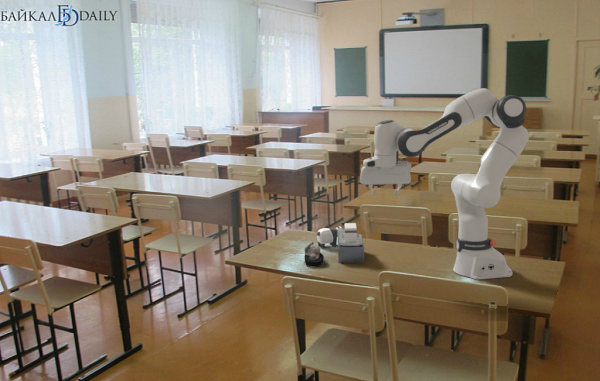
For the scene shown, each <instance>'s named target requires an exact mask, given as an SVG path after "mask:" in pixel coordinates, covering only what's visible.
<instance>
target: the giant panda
mask: <svg viewBox="0 0 600 381" xmlns="http://www.w3.org/2000/svg"><path fill="white" fill-rule="evenodd" d="M340 234H345V229H344V228H343V227H342V226H340V225H338V224H337V225H336V228H335V227H332V228H330V227H329V228H327V227H325V228H324V227H323V228H320V229H318V231H317V233H316V239H317V244H318V245H317V246H318V247H320V249H326V248H327V247H326V244H329V245H330V246H332V247H333V248H336V246H337V247H338V244H337V243H338V237H339V235H340Z"/></svg>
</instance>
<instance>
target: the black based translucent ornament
mask: <svg viewBox="0 0 600 381" xmlns="http://www.w3.org/2000/svg"><path fill="white" fill-rule="evenodd" d="M303 256H304V264H305V265H306V266H308V267H311V268H316V267H317V268H318V267H320V266H322V265H323V264H324V262H325V258H324V254H323V253H321V247H319V246H318V245H315V244H314V241H312V242H310V244H308V245H307V246H305V247H304V255H303Z"/></svg>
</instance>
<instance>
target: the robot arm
mask: <svg viewBox="0 0 600 381" xmlns="http://www.w3.org/2000/svg"><path fill="white" fill-rule="evenodd" d="M526 104H527V103H526V102H525V100H524V99H523V98H522V97H520V96H518V95H514V94H509V95H506V96H503V97H501V98H497V97H496V96H495V95H494V93H493V92H492V91H491V90H490V89H488V88H486V87H485V88H484V87H482V88H477V89H476V90H473V91H472V90H471V91H470V92H467V93H466V94H463V95H461V96H459V97H457V98H456V99H454V100H452V101H451V102H449V103H448V104H447V105H446V106H445V108H444V111H443V114H442V116H441V117H440V118H439V119H436V120H435V121H433V122H431V123H430V124H428V125H426V126H425V127H423V128H420V129H417V130H415V129H413V128H411V127H406V126H404V125H402V124H400V123H398V122H396V121H395V120H392V119H388V120H382V121H380V122H378V123H377V124H375V128H374V131H373V132H374V133H373V135H374V136H373V144H374V153H373V156H372V157H369V158H366V159H364V160H363V163H362V164H363V166H362V167H361V169H360V175H359V176H360V178H359V179H360V180H359V182H360V184H361V185H363V186H365V185H366V186H367V185H368V187H369V189H370V190H371V196H376V195H377V194H376V190H375V189H373V186H374V185H397V189H395V190H394V195H396V196H399V195H400V190H401V189H402V188H403V185H409V184H410V183H411V182H412V178H411V171H412V163H411V162H410V161H408V160H397V153H398V152H400V153H401V154H402V155H403V156H405V157H407V158H416V157H418V156H420V155H421V154H423V152H424V151H425V150H426V148H427V147H428V146H429V145H430V144H432V143H433V142H436V141H437V140H439V139H440V138H442V137H444V136H445V135H447V134H449V133H451V132H453V131H455V130H457V129H460V128H463V127H465V126H468V125H469V124H473V122H475V121H477V120H479V119H481V118H485V119H486V120H488V122H489V123H490V124H491V125H492V126H493V127H495V128H498V129H499V132H498V134H497V136H496V138H494V140H493V141H492V143H491V144H490V145H489V146H488V148H487V149H486V151H485V152H484V153H483V154H482V155H481V157H480V167H479V169H478V171H477V173H476V174H473V173H460V174H457V175H456V176H455V177H453V179H452V180H451V182H450V183H451V184H450V188H451V191H452V193H453V195H454V199H455V204H456V205H455V206H456V209H457V214H458V215H457V216H458V232H457V233H458V236H457V237H456V251H457V252H456V259H455V261H454V265H453V270H452V271H453V272H454V273H456V274H458V275H460V276H463V277H468V278H471V279H473V280H487V279H488V280H489V279H498V278H499V279H500V278H501V279H502V278H511V277H512V276H513V269H511V268H510V266H508V265H507V261H506V258H505V256H504V255H503V253H501V252H499V251H498V250H497V249H495V248H494V247H496V245H497V243H496V242H495V241H494V240H493V239H491V238H490V237H489V236H488V233H489V231H488V230H489V229H488V228H489V219H488V216H487V213H486V211H485V209H491V208H493V207H495V206H496V205H497V204H498V203H499V201H500V199H501V186H502V183H503V180H504V179H505V176H506V174H507V173H508V171H509V170H510V169H511V167H512V166H513V165H514V163H515V162H516V161H517V160H518V158H519V156H520V155H521V154H522V153H523V150H524V149H525V147H526V146H527V143H528V141H529V139H530V134H529V131H528V130H527V128H526V127H524V126H523V124H525V119H526V113H527V105H526Z"/></svg>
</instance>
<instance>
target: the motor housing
mask: <svg viewBox="0 0 600 381" xmlns="http://www.w3.org/2000/svg"><path fill="white" fill-rule="evenodd" d="M337 243H338V244H337V245H338V246H337V253H338V255H337V256H338V263H339V264H342V263H344V264H345V263H346V264H348V263H350V264H351V263H353V264H355V263H361V264H362V263H363V264H364V263H365V245H364V239H363V235H362V234H361V233H357V242H345V233H344V234H340V235H339V237H337Z"/></svg>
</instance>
